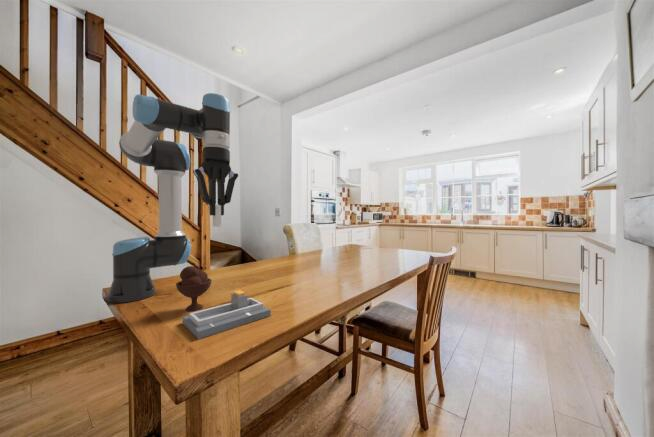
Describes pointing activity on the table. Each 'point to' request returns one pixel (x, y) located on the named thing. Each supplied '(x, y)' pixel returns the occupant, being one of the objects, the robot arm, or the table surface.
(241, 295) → the fader tab
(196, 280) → the ice cream bowl
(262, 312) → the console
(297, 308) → the table surface
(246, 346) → the table surface
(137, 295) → the robot arm
